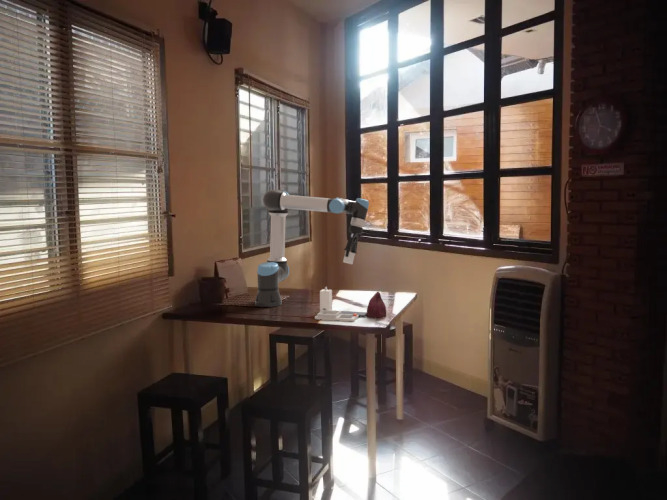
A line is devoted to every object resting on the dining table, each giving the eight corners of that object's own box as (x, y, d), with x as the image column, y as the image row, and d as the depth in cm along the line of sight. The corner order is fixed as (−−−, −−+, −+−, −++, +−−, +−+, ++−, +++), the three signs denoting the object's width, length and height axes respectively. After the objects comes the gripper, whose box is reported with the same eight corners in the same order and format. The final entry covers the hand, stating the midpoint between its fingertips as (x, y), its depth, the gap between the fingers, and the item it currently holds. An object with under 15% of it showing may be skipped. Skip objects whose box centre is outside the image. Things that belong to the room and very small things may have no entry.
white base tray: (314, 319, 255) (314, 313, 254) (321, 314, 264) (321, 309, 264) (353, 321, 249) (353, 316, 248) (358, 317, 258) (358, 312, 258)
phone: (364, 317, 258) (364, 315, 258) (338, 315, 262) (338, 313, 262) (368, 314, 264) (368, 312, 264) (342, 312, 269) (342, 310, 268)
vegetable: (387, 324, 257) (392, 297, 252) (366, 322, 256) (371, 295, 251) (384, 314, 267) (389, 288, 262) (364, 312, 266) (369, 286, 261)
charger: (319, 313, 267) (319, 287, 265) (323, 311, 272) (322, 285, 270) (329, 314, 265) (328, 288, 264) (332, 312, 270) (331, 286, 269)
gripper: (359, 225, 271) (350, 263, 271) (366, 230, 296) (358, 265, 295) (346, 222, 273) (336, 260, 273) (354, 227, 297) (345, 262, 297)
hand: (347, 263), depth 284 cm, fingers open, 13 cm apart
